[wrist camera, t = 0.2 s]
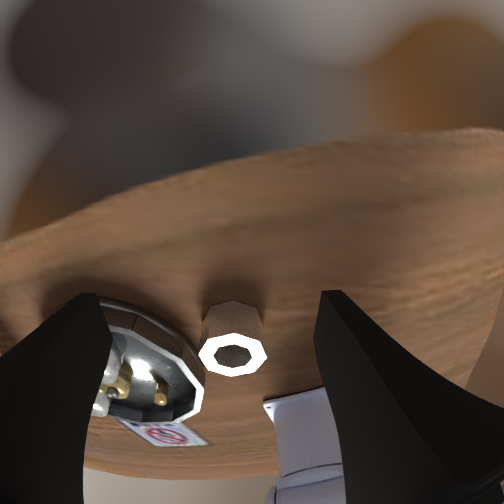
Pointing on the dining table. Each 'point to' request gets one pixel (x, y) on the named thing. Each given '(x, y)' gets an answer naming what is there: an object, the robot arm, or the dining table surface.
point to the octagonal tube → (232, 339)
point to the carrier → (147, 369)
